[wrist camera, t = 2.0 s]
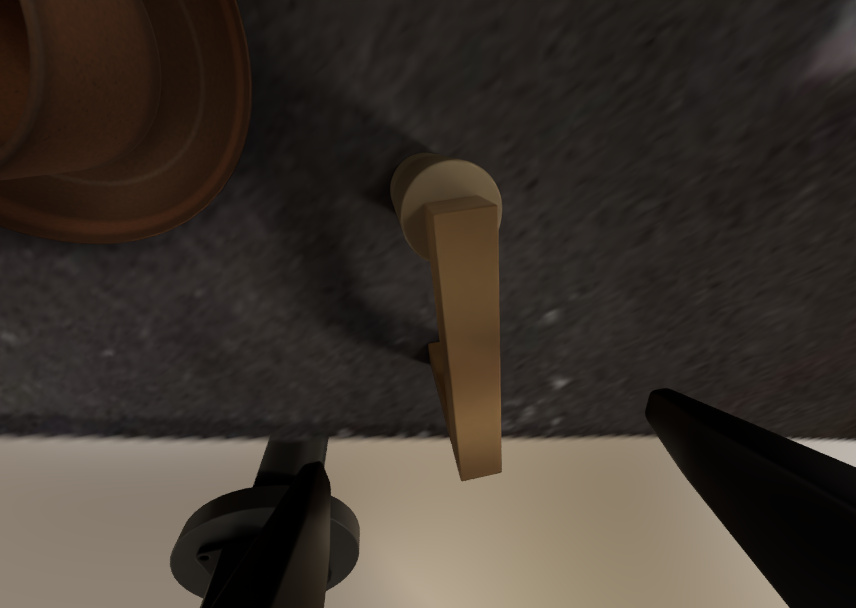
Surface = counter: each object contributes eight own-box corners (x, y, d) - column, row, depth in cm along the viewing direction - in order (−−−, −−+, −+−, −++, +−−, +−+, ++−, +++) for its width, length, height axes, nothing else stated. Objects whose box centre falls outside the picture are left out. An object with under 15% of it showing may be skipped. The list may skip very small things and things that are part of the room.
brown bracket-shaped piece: (470, 358, 19) (519, 469, 12) (418, 368, 18) (442, 486, 12) (455, 147, 14) (528, 154, 7) (384, 157, 13) (396, 173, 7)
